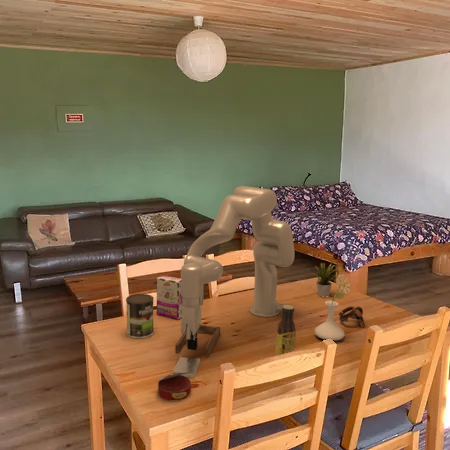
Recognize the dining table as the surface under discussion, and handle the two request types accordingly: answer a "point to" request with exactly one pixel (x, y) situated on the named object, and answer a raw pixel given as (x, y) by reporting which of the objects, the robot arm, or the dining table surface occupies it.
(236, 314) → the dining table surface
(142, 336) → the coffee can
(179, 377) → the canned food
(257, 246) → the robot arm
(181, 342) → the brown u-shaped frame
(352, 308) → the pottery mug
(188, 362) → the cover plate
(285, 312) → the sauce bottle
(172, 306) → the candy bar box
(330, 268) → the house plant
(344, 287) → the flower in vase
